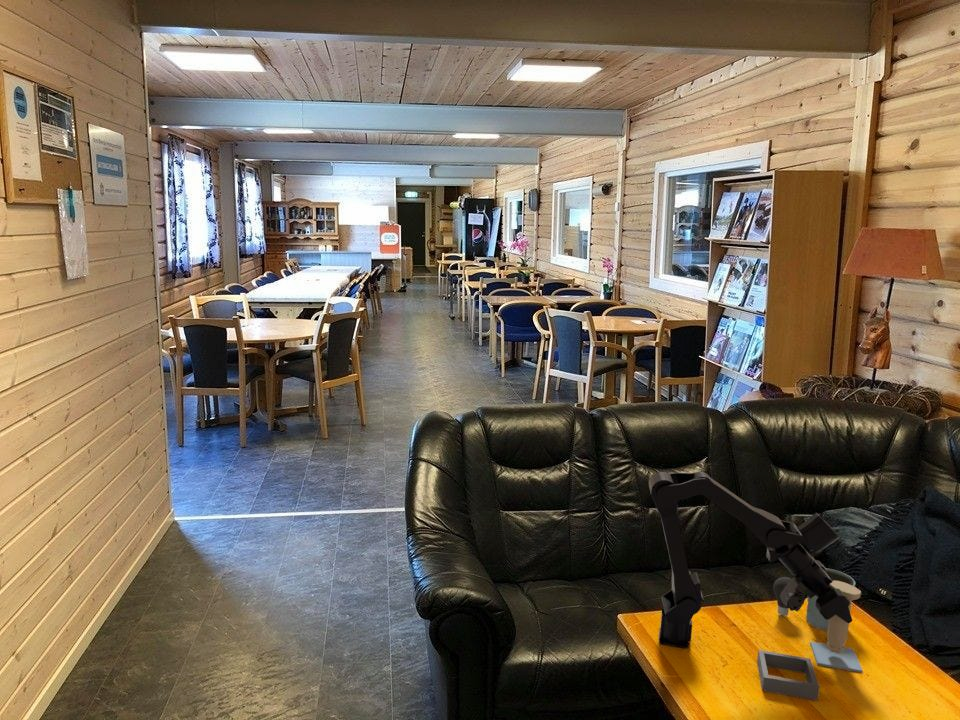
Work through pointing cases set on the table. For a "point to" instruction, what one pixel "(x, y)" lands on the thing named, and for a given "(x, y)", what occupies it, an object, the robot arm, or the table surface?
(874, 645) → the table surface
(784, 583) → the light bulb
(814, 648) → the mat
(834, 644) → the handle
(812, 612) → the grey cup
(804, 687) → the grey square frame
